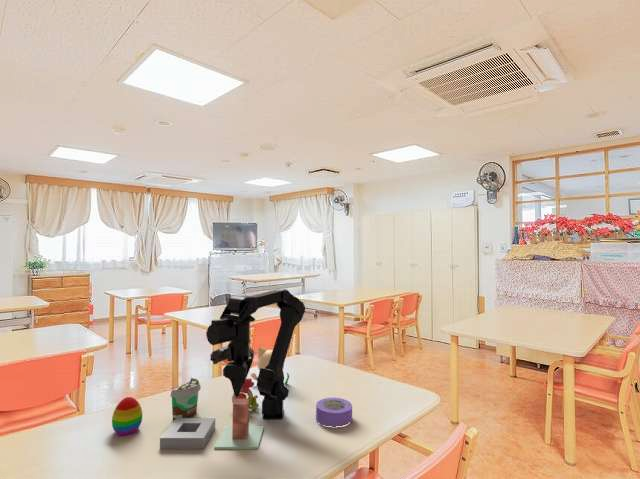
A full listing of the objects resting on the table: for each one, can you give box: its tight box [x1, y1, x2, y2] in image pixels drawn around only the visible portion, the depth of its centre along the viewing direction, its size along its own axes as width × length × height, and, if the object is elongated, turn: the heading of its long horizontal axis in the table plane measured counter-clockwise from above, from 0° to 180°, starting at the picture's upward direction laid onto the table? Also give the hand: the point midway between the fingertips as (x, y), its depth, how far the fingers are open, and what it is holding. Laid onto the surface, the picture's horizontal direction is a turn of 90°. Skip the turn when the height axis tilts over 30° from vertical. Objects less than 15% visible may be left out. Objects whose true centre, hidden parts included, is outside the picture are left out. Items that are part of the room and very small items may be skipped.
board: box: [213, 425, 265, 450], centre depth 107 cm, size 12×12×1 cm
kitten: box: [250, 346, 290, 386], centre depth 152 cm, size 15×10×15 cm, turn 77°
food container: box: [170, 377, 202, 421], centre depth 122 cm, size 12×6×10 cm, turn 168°
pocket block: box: [159, 417, 216, 450], centre depth 107 cm, size 12×12×3 cm
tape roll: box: [315, 397, 353, 427], centre depth 120 cm, size 12×12×5 cm
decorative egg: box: [111, 396, 143, 436], centre depth 111 cm, size 8×8×10 cm
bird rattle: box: [231, 377, 260, 411], centre depth 126 cm, size 6×11×9 cm
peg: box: [232, 398, 250, 439], centre depth 108 cm, size 4×4×10 cm
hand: (239, 389), depth 110 cm, fingers open, 9 cm apart
